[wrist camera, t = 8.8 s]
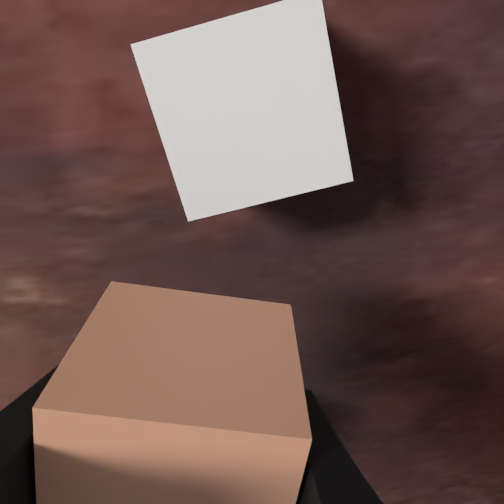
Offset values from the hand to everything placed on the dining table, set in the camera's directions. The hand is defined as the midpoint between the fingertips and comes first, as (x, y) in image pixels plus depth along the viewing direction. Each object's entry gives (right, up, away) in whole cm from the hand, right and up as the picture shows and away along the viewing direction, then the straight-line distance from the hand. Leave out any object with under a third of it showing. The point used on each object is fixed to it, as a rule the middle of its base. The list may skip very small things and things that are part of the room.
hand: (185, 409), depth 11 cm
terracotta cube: (0, +1, +2) cm, 2 cm away
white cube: (+2, +9, +6) cm, 11 cm away
